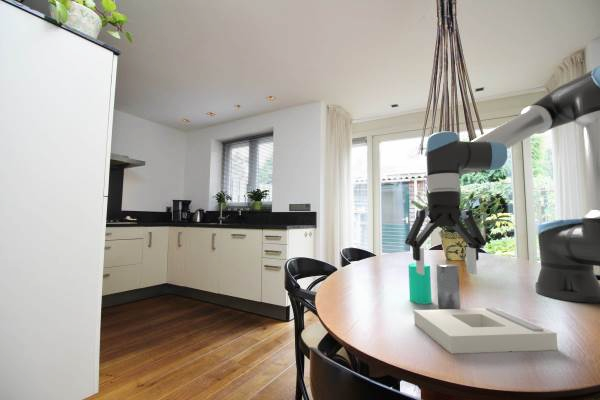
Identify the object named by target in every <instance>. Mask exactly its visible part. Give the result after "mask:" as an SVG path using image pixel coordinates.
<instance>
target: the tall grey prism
mask: <svg viewBox="0 0 600 400" xmlns="http://www.w3.org/2000/svg"><path fill="white" fill-rule="evenodd" d="M435 266H436V283H437V284H436V285H437V304H438V305H437V306H438V307H437V308H438V309H437V310H441V309H462V308H461V289H460V288H461V287H460V272H459V271H460V269H459V267H460V266H459V265H457V264H451V263H439V264H436V265H435Z"/></svg>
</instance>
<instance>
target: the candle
mask: <svg viewBox="0 0 600 400" xmlns="http://www.w3.org/2000/svg"><path fill="white" fill-rule="evenodd" d="M408 284H409V285H408V287H409V289H408V290H409V301H411V302H412V303H416V304H421V303H422V304H431V302H432V301H433V300H432V279H431V265H430V264H425V263H424V275H421V274H419V273H417V272H416V263H414V262H410V263H409V264H408Z"/></svg>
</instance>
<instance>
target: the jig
mask: <svg viewBox="0 0 600 400" xmlns="http://www.w3.org/2000/svg"><path fill="white" fill-rule="evenodd" d="M413 315H414V317H413V318H414V325H416V326H417V327H418V328H420V329H421V331H422V332H424V333H426V334H427V336H430V338H431V339H433V340H434V341H435V342H437V343H438V344H439V345H440V346H442V347H443V348H444V350H446V351H447V352H448V353H450V354H476V353H479V354H480V353H508V352H509V351H512V352H533V351H534V352H537V351H539V352H541V351H557V350H558V349H559V347H558V337H557V336H558V335H557V332H555V331H553V330H550V329H548V328H546V327H544V326H541V325H538V324H536V323H533V322H531V321H529V320H528V319H524V318H521V317H520V316H517V315H515V314H512V313H511V312H510V313H509V312H508V311H506V310H503V309H501V308H497V307H482V308H481V307H480V308H461V309H441V310H438V309H414V310H413Z"/></svg>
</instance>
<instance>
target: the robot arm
mask: <svg viewBox="0 0 600 400" xmlns="http://www.w3.org/2000/svg"><path fill="white" fill-rule="evenodd" d="M569 123H574V124H576V125H579V127H580V126H581V127H582V128H581V129H582V139H583V151H584V158H585V159H584V162H585V172H586V174H585V175H586V184H587V185H586V187H587V196H588V199H587V200H588V209H589V211H588V212H587V213H585V214H584V215H583V216H582V218H570V219H567V218H566V219H557V220H547V221H542V222H541V223H540V224H539V225H538V234H537V236H538V237H537V238H538V246H539V247H538V248H539V256H540V258H539V259H540V270H539V274H538V278H537V282H535V284H534V285H535V286H534V287H535V292H536V293H537V294H539V295H541V296H544V297H547V298H548V297H549V298H553V299H557V300H563V301H570V302H578V303H588V304H589V303H590V304H591V303H592V304H593V303H594V304H595V303H596V304H597V303H600V282H599V280H598V278H597V276H596V274H595V269H594V266H595V267H600V65H598V66H596V67H595V68H593V69H592V70H590V71H588V72H587V73H584V74H582V75H580V76H578V77H576V78H574V79H573V80H570V81H568V82H566V83H564V84H562V85H560V86H558V87H556V88H555V89H553V90H552V91H550V92H549V93H548V94H546V95H544V96H543V97H541V98H540V99H538V100H537V101H535V102H534V103H532V104H530V105H529V106H527V107H525V108H524V109H522V111H521V113H520V114H519V115H517V116H515V117H513V118H511V119H510V120H507V121H506V122H504V123H502V124H501V125H498V126H497V127H495V128H493V129H491V130H489V131H487V132H486V133H483V134H482V135H480V136H478V137H476V138H475V139H473V140H470V141H463V140H459V136H458V134H457V132H453V131H448V130H446V131H440V132H435V133H432V134H431V135H429V136H428V137H427V139H426V144H425V145H426V147H425V148H426V150H425V154H426V173H427V175H426V176H427V177H426V178H427V184H426V185H427V191H429V192H428V194H427V205H428V206H427V207H428V210H425V209H417V210H416V214H415V219H414V222H413V224H412V226H411V228H410V230H409V233H408V234H407V236H406V239H405V240H404V244H405V245H407V246H410V247H411V248H412V259H413V261H415V264H416V272H417V273H419V274H421V275H424V264H425V248H423V247H422V246H423V244H424V243H425V242H426V240H427V239H428V238H429V237H430V235H431V234H433V232H434V230H435V229H437V228H453V229H454V231H455V232H456V233H457V234H458V235H459V236H460V238H461V239H462V240H463V241H464V242H465V243H466V245H467V246H468V247H467V246H466V247H465V259H466V261H465V262H466V273H468V274H472V275H477V274H478V273H477V271H478V270H477V268H478V267H477V261H479V249H481V248H482V246H486V245H487V242H486V239H485V238H484V236H483V234H482V232H481V230H480V228H479V226H478V225H477V223H476V221H475V219H474V215H473V210H471V209H463V210H461V209H460V207H461V193H460V192H459V190H460V189H461V185H460V184H461V182H460V177H461V176H463V175H467V174H471V173H475V172H478V171H488V172H489V171H497V170H499V169H501V168H503V167H504V166H505V164H506V162H507V160H508V149H510V148H511V147H514V146H516V145H517V144H519V143H520V142H523V141H524V140H526V139H528V138H530V137H532V136H534V135H535V134H536V135H537V134H538V135H539V134H540V135H541V134H544V133H546V132H547V131H549V130H553V129H554V128H557V127H560V126H563V125H566V124H569ZM427 217H428V218H429V220H428V222H427V223H426V225H425V227H424V228H423V229H422V227H423V224H424V222H425V220H426V219H427ZM460 218H462V221H463V223H464V224H463V223H462V221H461V220H460ZM464 225H465V226H466V227H465V226H464ZM421 229H422V230H421ZM420 231H421V232H420Z"/></svg>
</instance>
